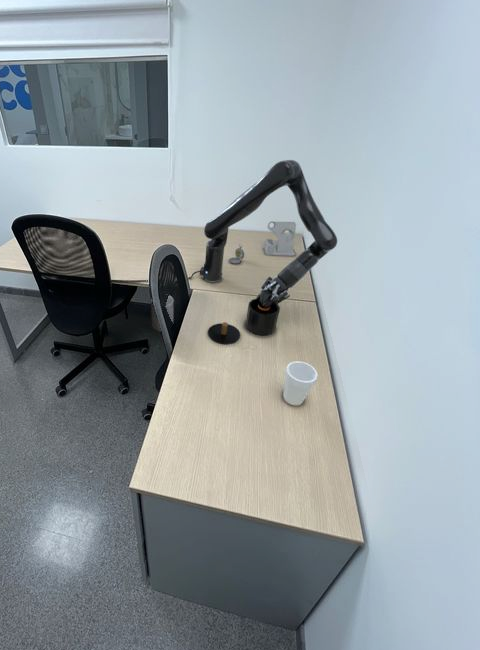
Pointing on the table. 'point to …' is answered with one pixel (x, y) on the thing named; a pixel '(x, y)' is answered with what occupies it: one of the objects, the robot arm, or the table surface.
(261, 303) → the socket
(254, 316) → the pot
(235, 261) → the pocket watch
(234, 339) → the lid
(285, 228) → the phone holder
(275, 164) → the robot arm
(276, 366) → the table surface
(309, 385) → the foam cup
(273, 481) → the table surface
